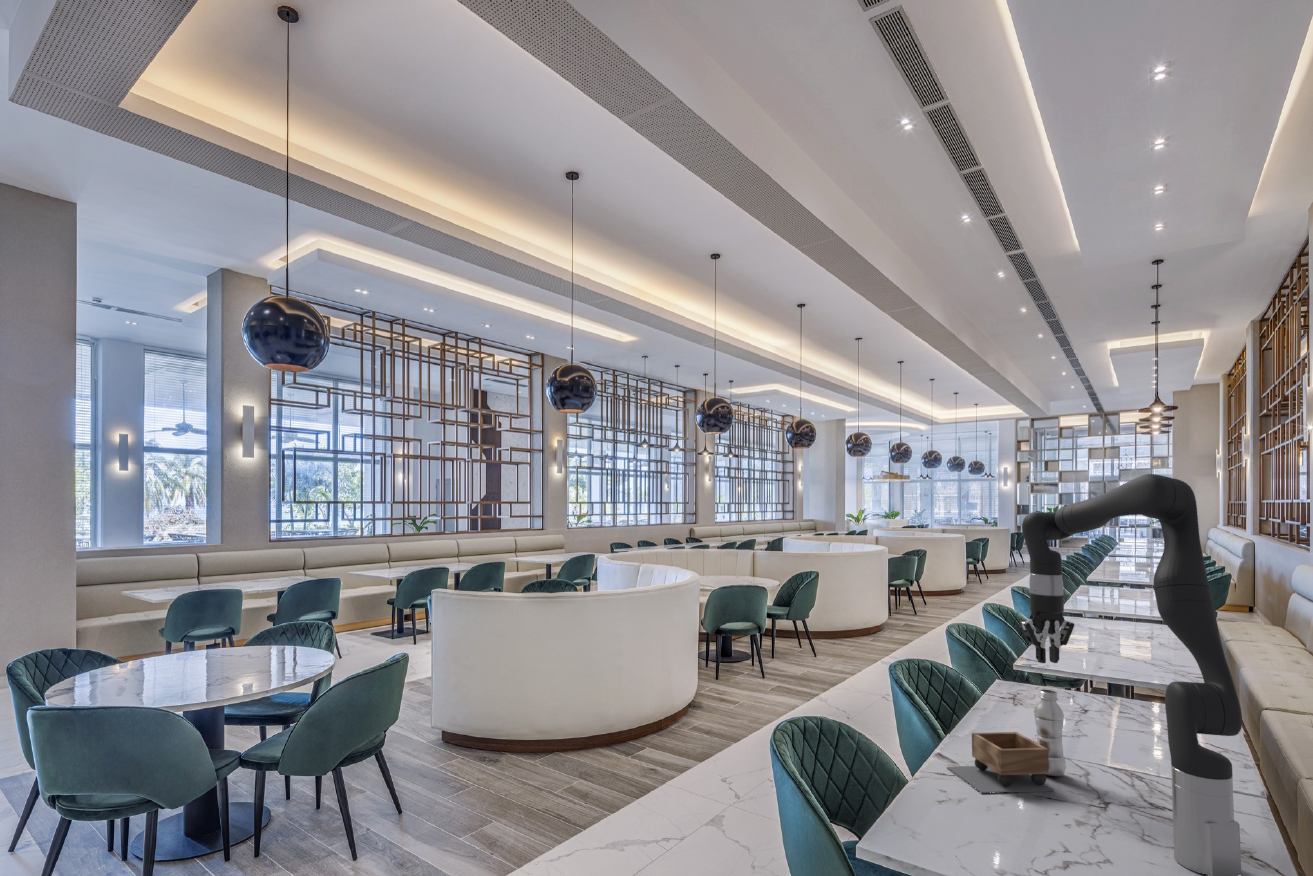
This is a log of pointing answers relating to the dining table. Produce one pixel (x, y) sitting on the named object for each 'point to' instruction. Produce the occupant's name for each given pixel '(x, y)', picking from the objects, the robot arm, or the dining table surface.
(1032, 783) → the gray mat
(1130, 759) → the dining table surface
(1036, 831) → the dining table surface
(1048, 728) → the plastic bottle
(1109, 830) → the dining table surface
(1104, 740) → the dining table surface
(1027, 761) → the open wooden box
